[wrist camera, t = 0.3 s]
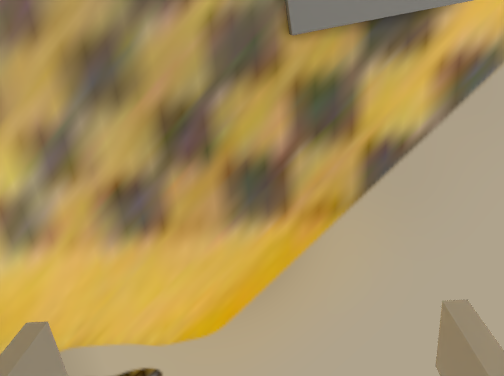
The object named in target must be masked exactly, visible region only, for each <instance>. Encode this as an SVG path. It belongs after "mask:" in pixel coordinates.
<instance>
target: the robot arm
mask: <svg viewBox="0 0 504 376" xmlns="http://www.w3.org/2000/svg"><path fill="white" fill-rule="evenodd" d="M436 368H437V370H438V372H439V374H440V376H504V350H503V349H502V347H501V346H500V345H499V343H498V342H497V340H496V339H495V338H494V336H493V335H492V333H491V332H490V331H489V329H488V328H487V326H486V325H485V324H484V322H483V321H482V320H481V318H480V317H479V315H478V314H477V312H476V311H475V310H474V308H473V307H472V305H471V304H470V303H469V301H468V300H449V301H442V310H441V319H440V328H439V338H438V348H437V357H436ZM0 376H68V374H67V372H66V369H65V366H64V364H63V361H62V358H61V356H60V353H59V350H58V348H57V345H56V342H55V340H54V337H53V335H52V332H51V329H50V327H49V324H48V322H31V323H26V324H25V325H24V326H23V328H22V329H21V330H20V331H19V333H18V334H17V335H16V336H15V337H14V339H13V340H12V341H11V342H10V344H9V345H8V346H7V347H6V349H5V350H4V351H3V352H2V353H1V355H0Z"/></svg>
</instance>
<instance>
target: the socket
mask: <svg viewBox="0 0 504 376" xmlns="http://www.w3.org/2000/svg"><path fill="white" fill-rule="evenodd" d="M467 1H472V0H285V3H286V11H287V18H288V25H289V32H290V34H291V35H297V34H302V33H307V32H312V31H317V30H322V29H328V28H333V27H338V26H343V25H348V24H353V23H359V22H364V21H369V20H374V19H379V18H384V17H389V16H395V15H400V14H405V13H410V12H415V11H420V10H426V9H431V8H436V7H441V6H446V5H451V4H456V3H462V2H467Z"/></svg>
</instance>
